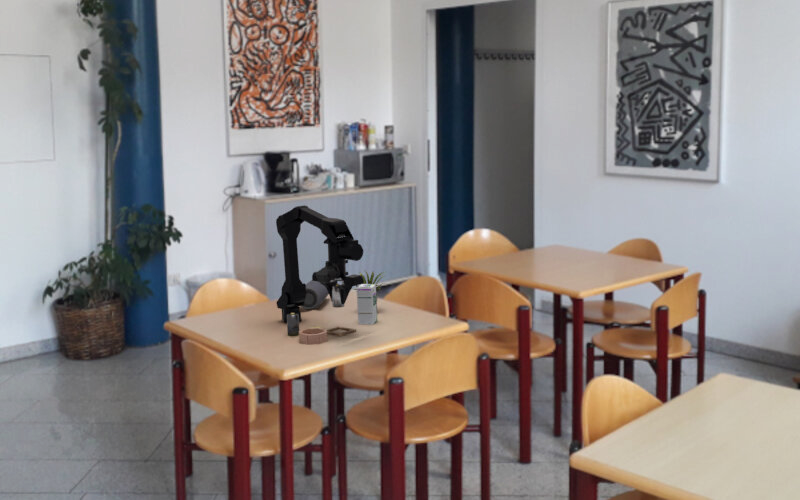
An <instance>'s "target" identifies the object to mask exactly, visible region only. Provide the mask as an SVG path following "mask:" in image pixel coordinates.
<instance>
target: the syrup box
mask: <svg viewBox="0 0 800 500" xmlns="http://www.w3.org/2000/svg"><path fill="white" fill-rule="evenodd" d="M376 285H377V284H376V283H374V284H373V283H372V284H368V283H367V284H360V285H357V286H358V287H356V289H357V290H356V302H357V303H356V305H357V322H358V325H370V326H371V325H372V326H373V325H375V324H376V323H377V322H378V299H377V300H376V295H377V291H376V288H377V286H376Z"/></svg>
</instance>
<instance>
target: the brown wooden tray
mask: <svg viewBox="0 0 800 500" xmlns="http://www.w3.org/2000/svg"><path fill="white" fill-rule="evenodd" d="M338 330H339V331H343V332H341V333H340V332H336V331H338ZM326 331H327V335H330V336H335V337H340V338H341V337H344V336H347V335H350V334H353V333H357V329H355V328H351V327H349V328H348V327H344V326H335V327H332V328H329V329H326Z"/></svg>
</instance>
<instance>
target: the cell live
mask: <svg viewBox="0 0 800 500" xmlns="http://www.w3.org/2000/svg"><path fill="white" fill-rule="evenodd" d="M338 285H341V284H340V283H337V284H336V285H333V286H332V301H331V303H332V307H333V308H338V309H339V308H343V307H345V304H342V302H341V290H340V288H339V287H338Z"/></svg>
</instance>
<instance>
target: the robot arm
mask: <svg viewBox="0 0 800 500" xmlns="http://www.w3.org/2000/svg"><path fill="white" fill-rule="evenodd" d="M304 222H306V223H307V224H309V225H311V226H313V227H316V228H317V229H319V230H320V232H321V234H322V235H324V236H325V238H326V239H324V241H323V242H322V243H323V244H325V245H327V259H328V260H326V261H325V264H324V265H325V266H323V267H322V268H321V269H319V270H318V271H313V273H312V275H311V278H312V279H311V280H312V281H318V282H321V284H322V285H324V286H325V287H326V289H327V291H328V293H329V294H328V296H329V298H330V300H331V302H332V286H333V285H336V284H338V282H341V284H340V285H338V287H339V288H340V290H341V302H342V304H344V305H345V304H346V302H347V299H348V298H349V297H348V296H349V295H350V292H351V291H352V289H353V287H355V286H356V285H357V286H360V285H361V284H363V283H364V279H363V277H362V276H361V275H360V274H350V275H349V271H347V269H346V267H347V266H346V264H348V263H349V261H355V262H358V261H360V260H361V259H362V258H363V256H364V249H363V246H362V245H361V244H360V243H359V240H358V239H355V238H354V237H353V234H352V232H351V230H350V228H349V226H348V224H347V222H346V221H345V220H344V219H340V218H335V217H329V216H325V215H324V214H322V213H320V212H318V211H317V210H313V209H312V208H310V207H309V206H308V205H305V204H304V205H298V206H294V207H293V208H292V209H291V210H288V211H287V212H285V213H283V214H280V215H278V217H277V218H276V219H275V224H276V230H277V233H278V235H279V236H280V238H281V239H282V249H283V250H282V252H283V261H284V264H283V265H284V276H285V277H284V278H285V279H284V282H283V284H282V286H281V295H280V296H279V298H278V299H277V301H276V302H275V303H276V308H277V309H280V310H281V321H282V322H283V323H284V324H285V323H286V324H287V314H291V313H296V314H299V323H300V322H301V323H302V311H301V306H304V302H305V298H306V295H307V293H306V283H303V282H302V280H301V278H300V270H299V269H300V268H299V253H298V252H299V251H298V237H299V235H300V233H301V229H302V228H301V225H302V224H303V223H304Z"/></svg>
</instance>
